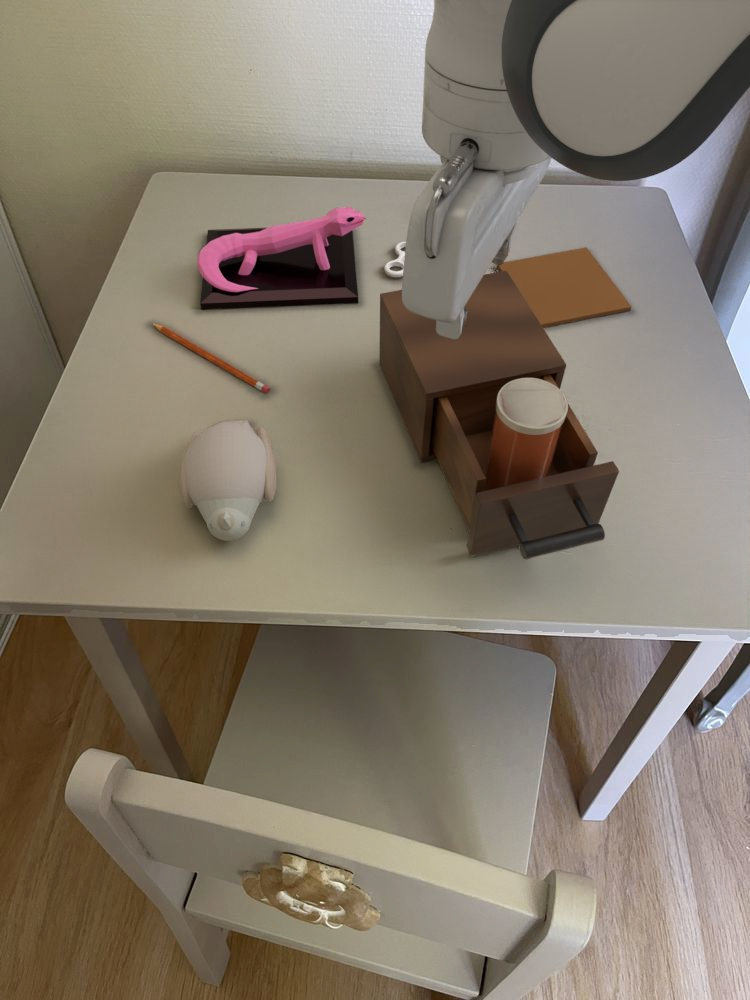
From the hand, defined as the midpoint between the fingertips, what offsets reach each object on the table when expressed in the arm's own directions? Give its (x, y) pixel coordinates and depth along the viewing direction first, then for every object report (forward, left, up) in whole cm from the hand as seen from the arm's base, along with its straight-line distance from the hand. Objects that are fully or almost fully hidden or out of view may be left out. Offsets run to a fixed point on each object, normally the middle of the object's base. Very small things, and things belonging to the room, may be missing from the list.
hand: (473, 293), depth 58 cm
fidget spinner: (-7, -34, -22) cm, 41 cm away
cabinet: (-5, -10, -22) cm, 24 cm away
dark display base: (+8, -37, -22) cm, 44 cm away
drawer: (-5, +5, -21) cm, 22 cm away
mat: (-23, -24, -22) cm, 40 cm away
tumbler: (-5, +4, -20) cm, 21 cm away
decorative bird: (+20, -5, -22) cm, 30 cm away
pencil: (+20, -24, -22) cm, 38 cm away
